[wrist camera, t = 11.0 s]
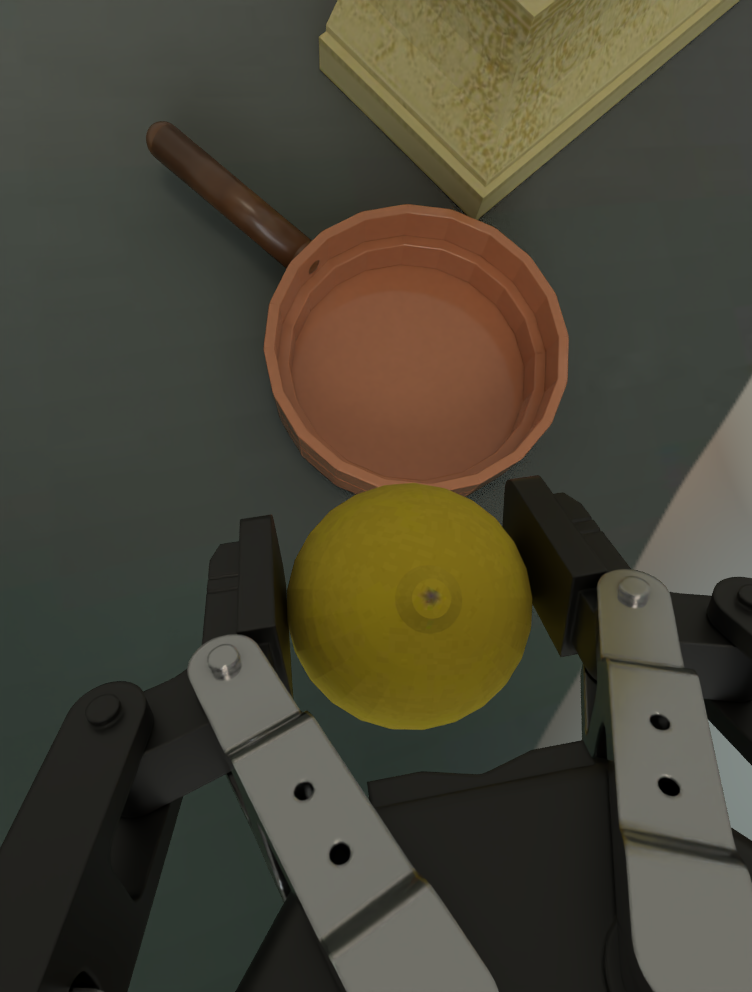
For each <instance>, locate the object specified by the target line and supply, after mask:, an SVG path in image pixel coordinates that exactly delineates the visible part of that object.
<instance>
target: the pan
mask: <svg viewBox="0 0 752 992" xmlns="http://www.w3.org/2000/svg"><path fill="white" fill-rule="evenodd" d="M317 260H319V266H318V268H317V269H316V271H315V272H313V273H312V274H309V269H310V267H311V265H312V264H313V263H314V262H315V261H317ZM568 346H569V337H568V333H567V329H566V326H565V323H564V319H563V316H562V313H561V309H560V306H559V303H558V300H557V296H556V294H555V292H554V290H553V289H552V288H551V286H550V285H549V283H548V282H547V280H546V279H545V277H544V276H543V274H542V273H541V271H540V270H539V268H538V267H537V266H536V264H535V263H534V261H533V260H532V258H531V257H530V256H529V255H528V254H527V253H525V252H524V251H523V250H522V249H521V248H519V247H518V246H517V245H516V244H514V243H513V242H512V241H511V240H509V239H508V238H507V237H506V236H505V235H503V234H502V233H501V232H500V231H498V230H497V229H496V228H494V227H492V226H490V225H488V224H485V223H483V222H481V221H478V220H476V219H473V218H471V217H469V216H466V215H464V214H462V213H459V212H457V211H455V210H452V209H444V208H436V207H428V206H420V205H411V204H404V205H398V206H392V207H386V208H380V209H374V210H368V211H363V212H360V213H358V214H356V215H354V216H352V217H350V218H348V219H346V220H344V221H342V222H340V223H338V224H336V225H334V226H332V227H330V228H328V229H326V230H324V231H322V232H321V233H320V234H319V235H318V236H317V237H316V238H315V239H314V240H312V241H311V242H310V243H309V244H308V245H307V246H306V247H305V248H304V249H303V250H302V251H301V252H300V253H299V254H298V255H297V256H296V257H295V258H294V259H293V260H292V261H291V262H290V264H289V265H288V267H287V269H286V271H285V273H284V275H283V277H282V279H281V281H280V283H279V285H278V287H277V289H276V291H275V293H274V295H273V297H272V299H271V301H270V304H269V309H268V317H267V324H266V332H265V340H264V354H265V359H266V363H267V368H268V373H269V377H270V382H271V387H272V392H273V396H274V399H275V403H276V406H277V410H278V413H279V417H280V420H281V422H282V423H283V425H284V427H285V428H286V430H287V432H288V433H289V435H290V437H291V438H292V440H293V442H294V443H295V445H296V447H297V448H298V450H299V452H300V453H301V455H302V456H303V457H304V458H305V459H306V460H307V461H308V462H309V463H311V464H312V465H313V466H314V467H315V468H316V469H317V470H319V471H320V472H321V473H322V474H323V475H324V476H325V477H327V478H328V479H329V480H330V481H331V482H332V483H334V484H335V485H337V486H339V487H341V488H343V489H346V490H348V491H350V492H353V493H355V494H360V493H363V492H366V491H369V490H372V489H375V488H378V487H381V486H384V485H393V484H406V483H418V484H424V485H430V486H435V487H441V488H446V489H448V490H450V491H452V492H455V493H457V494H459V495H461V496H464V497H466V496H468V495H470V494H471V493H473V492H475V491H476V490H478V489H480V488H481V487H483V486H485V485H486V484H488V483H490V482H491V481H493V480H495V479H496V478H498V477H500V476H501V475H502V474H503V473H505V472H506V471H507V470H509V469H510V468H511V467H512V466H514V465H515V464H516V463H517V462H519V461H520V460H521V459H522V458H523V457H524V456H525V455H526V454H527V453H528V451H529V450H530V449H531V448H532V447H533V445H534V444H535V443H536V442H537V441H538V439H539V438H540V437H541V436H542V435H543V433H544V432H545V431H546V430H547V429H548V428H549V426H550V425H551V423H552V421H553V419H554V416H555V414H556V411H557V408H558V406H559V403H560V400H561V398H562V395H563V392H564V390H565V387H566V385H567V381H568Z"/></svg>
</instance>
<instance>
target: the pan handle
mask: <svg viewBox="0 0 752 992" xmlns="http://www.w3.org/2000/svg"><path fill="white" fill-rule="evenodd" d="M146 143H147V146H148V149H149V151H150V152H151V154H152V155H153V156H154V157H155V158H156V159H157V160H159V161H160V162H161V163H162V164H163V165H165V166H166V167H167V168H168V169H169V170H171V171H172V172H173V173H174V174H175V175H176V176H178V177H179V178H180V179H181V180H182V181H184V182H185V183H186V184H187V185H188V186H189V187H191V188H192V189H193V190H194V191H195V192H197V193H198V194H199V195H200V196H201V197H203V198H204V199H205V200H206V201H207V202H208V203H210V204H211V205H212V206H213V207H214V208H216V209H217V210H218V211H219V212H220V213H221V214H223V215H224V216H225V217H226V218H227V219H229V220H230V221H231V222H232V223H233V224H235V225H236V226H237V227H238V228H239V229H240V230H242V231H243V232H244V233H245V234H246V235H248V236H249V237H250V238H251V239H252V240H253V241H255V242H256V243H257V244H258V245H259V246H261V247H262V248H263V249H264V250H265V251H266V252H268V253H269V254H270V255H271V256H272V257H274V258H275V259H276V260H277V261H278V262H280V263H281V264H282V265H283V266H284V267H285V268H287V267H288V265H289V264H290V262H291V261H292V260H293V259H294V258H295V257H296V256H297V255H298V254H299V253H300V252H301V251H302V250H303V249H304V248H305V247H306V246H307V245H308V244H309V243H310V242H311V240H310V239H309V238H308V237H307V236H306V235H304V234H303V233H302V232H301V231H300V230H298V229H297V228H296V227H295V226H294V225H292V224H291V223H290V222H289V221H288V220H286V219H285V218H284V217H283V216H282V215H280V214H279V213H278V212H277V211H276V210H274V209H273V208H272V207H271V206H270V205H268V204H267V203H266V202H265V201H264V200H263V199H261V198H260V197H259V196H258V195H257V194H255V193H254V192H253V191H252V190H251V189H249V188H248V187H247V186H246V185H245V184H243V183H242V182H241V181H240V180H239V179H237V178H236V177H235V176H234V175H233V174H231V173H230V172H229V171H228V170H227V169H225V168H224V167H223V166H222V165H221V164H219V163H218V162H217V161H216V160H215V159H214V158H212V157H211V156H210V155H209V154H208V153H206V152H205V151H204V150H203V149H202V148H200V147H199V146H198V145H197V144H196V143H194V142H193V141H192V140H191V139H190V138H188V137H187V136H186V135H185V134H184V133H182V132H181V131H180V130H179V129H178V128H176V127H175V126H174V125H172V124H171V123H168V122H165V121H159V122H156V123H154V124H152V125H151V126H150V128H149V129H148V131H147V135H146ZM318 266H319V260H317V261H315V262H314V263H313V264H312V265H311V267H310V269H309V274H312V273H313V272H315V271H316V269H317V268H318Z"/></svg>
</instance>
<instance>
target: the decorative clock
mask: <svg viewBox="0 0 752 992" xmlns="http://www.w3.org/2000/svg"><path fill="white" fill-rule="evenodd" d="M739 1H740V0H338V1H337V3H336V5H335V7H334V9H333V11H332V13H331V16H330V18H329V20H328V22H327V24H326V32H325V33H323V34H322V35H320V36H319V60H320V70H321V71H322V72H323V73H324V74H325V75H326V76H327V77H328V78H329V79H330V80H331V81H332V82H333V83H334V84H335V85H336V86H337V87H338V88H339V89H340V90H341V91H342V92H343V93H344V94H345V95H346V96H347V97H348V98H349V99H350V100H351V101H352V102H353V103H354V104H355V105H356V106H357V107H358V108H359V109H360V110H361V111H362V112H363V113H364V114H365V115H366V116H367V117H368V118H369V119H370V120H372V121H373V122H374V123H375V124H376V125H377V126H378V127H379V128H380V129H381V130H382V131H383V132H384V133H385V134H386V135H387V136H388V137H389V138H390V139H391V140H392V141H393V142H394V143H395V144H396V145H397V146H398V147H399V148H400V149H401V150H402V151H403V152H404V153H405V154H406V155H407V156H408V157H409V158H410V159H411V160H412V161H413V162H414V163H415V164H416V165H417V166H418V167H419V168H420V169H421V170H422V171H423V172H424V173H425V174H426V175H427V176H428V177H429V178H430V179H431V180H432V181H433V182H434V183H435V184H436V185H437V186H438V187H439V188H440V189H441V190H442V191H443V192H444V193H445V194H446V195H447V196H448V197H449V198H450V199H451V200H452V201H453V202H454V203H455V204H456V205H457V206H458V207H459V208H460V209H461V210H462V211H463V212H464V213H465V214H466V215H467V216H469V217H471V218H473V219H476V220H478V219H479V218H480V217H481V216H483V215H484V214H485V213H486V212H487V211H489V210H490V209H491V208H492V207H493V206H495V205H496V204H497V203H498V202H499V201H501V200H502V199H503V198H504V197H505V196H507V195H508V194H509V193H510V192H511V191H513V190H514V189H515V188H516V187H517V186H519V185H520V184H521V183H522V182H523V181H525V180H526V179H527V178H528V177H529V176H531V175H532V174H533V173H534V172H535V171H537V170H538V169H539V168H540V167H541V166H542V165H544V164H545V163H546V162H547V161H548V160H550V159H551V158H552V157H553V156H554V155H556V154H557V153H558V152H559V151H560V150H562V149H563V148H564V147H565V146H566V145H568V144H569V143H570V142H571V141H572V140H574V139H575V138H576V137H577V136H578V135H580V134H581V133H582V132H583V131H584V130H586V129H587V128H588V127H589V126H590V125H592V124H593V123H594V122H595V121H596V120H598V119H599V118H600V117H601V116H602V115H603V114H605V113H606V112H607V111H608V110H609V109H611V108H612V107H613V106H614V105H615V104H617V103H618V102H619V101H620V100H621V99H623V98H624V97H625V96H626V95H627V94H629V93H630V92H631V91H632V90H633V89H635V88H636V87H637V86H638V85H639V84H641V83H642V82H643V81H644V80H645V79H647V78H648V77H649V76H650V75H651V74H653V73H654V72H655V71H656V70H657V69H659V68H660V67H661V66H662V65H663V64H664V63H666V62H667V61H668V60H669V59H670V58H672V57H673V56H674V55H675V54H676V53H678V52H679V51H680V50H681V49H682V48H684V47H685V46H686V45H687V44H688V43H690V42H691V41H692V40H693V39H694V38H696V37H697V36H698V35H699V34H700V33H702V32H703V31H704V30H705V29H706V28H708V27H709V26H710V25H711V24H712V23H714V22H715V21H716V20H717V19H718V18H720V17H721V16H722V15H723V14H724V13H726V12H727V11H728V10H729V9H730V8H731V7H733V6H734V5H735V4H736V3H737V2H739Z"/></svg>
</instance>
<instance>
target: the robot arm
mask: <svg viewBox="0 0 752 992" xmlns="http://www.w3.org/2000/svg"><path fill="white" fill-rule="evenodd" d="M502 527H503V529H504V530H505V531H506V532H507V534H508V535H509V536H510V537H511V539H512V540H513V541H514V543H515V545H516V547H517V549H518V551H519V553H520V556H521V558H522V560H523V562H524V564H525V567H526V569H527V573H528V578H529V583H530V588H531V593H532V604H533V606H534V608H535V609H536V611H537V613H538V615H539V617H540V619H541V621H542V623H543V625H544V627H545V628H546V630H547V632H548V634H549V636H550V638H551V640H552V642H553V644H554V645H555V647H556V649H557V651H558V653H559V655H560V657H564V656H569V655H575V654H578V655H579V657H580V659H581V660H582V662H583V664H582V669H581V712H582V713H581V715H582V740H581V741H576V742H571V743H566V744H561V745H556V746H550V747H545V748H540V749H535V750H531V751H529V752H527V753H525V754H523V755H521V756H519V757H517V758H515V759H513V760H511V761H509V762H507V763H505V764H502V765H500V766H498V767H496V768H494V769H492V770H490V771H488V772H486V773H483V774H458V773H440V772H422V771H421V772H416V773H411V774H406V775H401V776H396V777H390V778H385V779H380V780H375V781H370V782H367V785H368V792H369V800H368V798H367V797H366V795H365V794H364V792H363V790H362V789H361V787H360V786H359V784H358V783H357V781H356V780H355V778H354V777H353V775H352V774H351V772H350V771H349V769H348V768H347V766H346V765H345V763H344V762H343V760H342V759H341V757H340V756H339V754H338V753H337V751H336V750H335V748H334V747H333V745H332V744H331V742H330V740H329V739H328V737H327V736H326V734H325V733H324V731H323V730H322V728H321V727H320V725H319V724H318V722H317V721H316V719H315V718H314V717H313V715H312V714H311V713H310V712H308V711H305V712H301V710H300V709H299V708H298V706H297V705H296V703H295V701H294V700H293V689H292V673H291V657H290V641H289V626H288V621H287V593H286V583H285V575H284V569H283V563H282V558H281V554H280V549H279V544H278V539H277V534H276V529H275V524H274V520H273V516H272V515H266V516H259V517H253V518H246V519H241V520H240V536H239V541H238V542H232V543H225V544H220V546H219V547H218V549H217V550H216V552H215V553H214V555H213V556H212V558H211V559H210V563H209V574H208V578H209V580H208V585H207V595H206V606H205V617H204V628H203V639H202V646H201V647H200V648H198V649H197V650H196V652H195V653H194V654H193V655H192V657H191V659H190V661H189V664H188V668H187V669H186V670H185V671H183V672H182V673H181V674H179V675H178V676H176V677H175V678H173V679H171V680H169V681H166V682H164V683H162V684H160V685H157V686H155V687H153V688H151V689H148V690H146V691H144V692H143V691H142V690H141V688H140V687H138V686H137V685H135V684H133V683H130V682H126V681H117V682H110V683H106V684H103V685H100V686H98V687H96V688H94V689H92V690H91V691H89V692H87V693H86V694H85V695H83V696H82V697H81V698H80V699H79V700H78V701H77V702H76V703H75V704H74V705H73V706H72V708H71V709H70V710H69V712H68V714H67V716H66V718H65V720H64V722H63V724H62V726H61V728H60V730H59V732H58V734H57V736H56V738H55V740H54V742H53V744H52V746H51V748H50V750H49V752H48V754H47V756H46V758H45V760H44V762H43V764H42V766H41V768H40V770H39V772H38V774H37V776H36V778H35V780H34V782H33V784H32V786H31V788H30V790H29V792H28V794H27V796H26V798H25V800H24V802H23V804H22V806H21V808H20V810H19V812H18V814H17V816H16V818H15V820H14V822H13V824H12V826H11V828H10V830H9V832H8V834H7V836H6V838H5V840H4V842H3V844H2V846H1V848H0V992H127V991H128V988H129V984H130V981H131V977H132V974H133V970H134V967H135V963H136V960H137V956H138V953H139V949H140V946H141V942H142V939H143V935H144V932H145V928H146V925H147V921H148V918H149V914H150V911H151V907H152V904H153V900H154V897H155V893H156V890H157V886H158V883H159V879H160V876H161V872H162V868H163V865H164V861H165V858H166V854H167V851H168V847H169V844H170V840H171V837H172V833H173V830H174V826H175V823H176V819H177V816H178V812H179V809H180V805H181V802H182V798H183V796H184V795H186V794H188V793H190V792H192V791H194V790H196V789H198V788H200V787H202V786H204V785H205V784H207V783H209V782H211V781H213V780H215V779H217V778H219V777H221V776H223V775H226V777H227V779H228V781H229V783H230V785H231V787H232V790H233V792H234V794H235V796H236V798H237V800H238V802H239V804H240V807H241V809H242V811H243V813H244V815H245V817H246V819H247V821H248V824H249V826H250V828H251V830H252V832H253V834H254V836H255V839H256V841H257V843H258V845H259V848H260V850H261V852H262V855H263V857H264V860H265V862H266V864H267V867H268V869H269V871H270V874H271V876H272V878H273V880H274V883H275V885H276V887H277V889H278V891H279V893H280V895H281V898H282V900H283V902H284V904H283V906H282V908H281V910H280V911H279V913H278V915H277V917H276V919H275V920H274V922H273V924H272V926H271V928H270V930H269V931H268V933H267V935H266V937H265V939H264V940H263V942H262V944H261V946H260V948H259V950H258V951H257V953H256V955H255V957H254V959H253V960H252V962H251V964H250V966H249V968H248V970H247V971H246V973H245V975H244V977H243V979H242V980H241V982H240V984H239V986H238V988H237V990H236V991H235V992H752V841H751V840H750V839H748V838H747V837H745V836H744V835H742V834H740V833H739V832H737V831H736V830H734V829H733V828H731V826H730V821H729V816H728V812H727V807H726V803H725V798H724V793H723V788H722V784H721V779H720V775H719V770H718V765H717V760H716V756H715V751H714V747H713V742H712V737H711V732H710V728H709V723H708V720H709V721H710V722H711V723H712V724H713V725H714V726H715V727H716V728H717V729H718V730H719V731H720V732H721V733H722V735H723V736H724V737H725V738H726V739H727V740H728V741H729V742H730V743H731V744H732V745H733V746H734V747H735V748H736V749H737V750H738V751H739V752H740V753H741V755H742V756H743V757H744V758H745V759H746V760H747V761H748V762H749V763H750V764H751V765H752V578H745V577H731V578H727V579H724V580H722V581H720V582H719V583H717V585H716V586H715V588H714V591H713V593H712V596H707V595H694V594H680V593H673V592H669V591H668V589H667V588H666V586H665V585H664V584H663V583H662V582H661V581H660V580H658V579H656V578H655V577H653V576H651V575H649V574H647V573H644V572H641V571H638V570H632V569H631V568H630V567H629V566H628V564H627V563H626V562H625V560H624V559H623V558H622V557H621V555H620V554H619V553H618V551H617V550H616V549H615V547H614V546H613V545H612V543H611V542H610V541H609V540H608V538H607V537H606V536H605V534H604V533H603V532H602V531H600V528H599V527H598V525H597V524H596V523H595V521H594V520H592V519H591V516H590V515H589V513H588V512H587V511H586V510H585V508H584V507H583V506H582V504H581V503H579V502H578V501H576V500H574V499H573V498H571V497H570V496H568V495H566V494H565V493H556V494H553V493H552V492H551V490H550V489H549V488H548V486H547V485H546V483H545V482H544V481H543V479H542V478H541V477H540V476H538V475H537V476H530V477H524V478H517V479H510V480H507V482H506V484H505V494H504V510H503V526H502Z"/></svg>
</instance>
